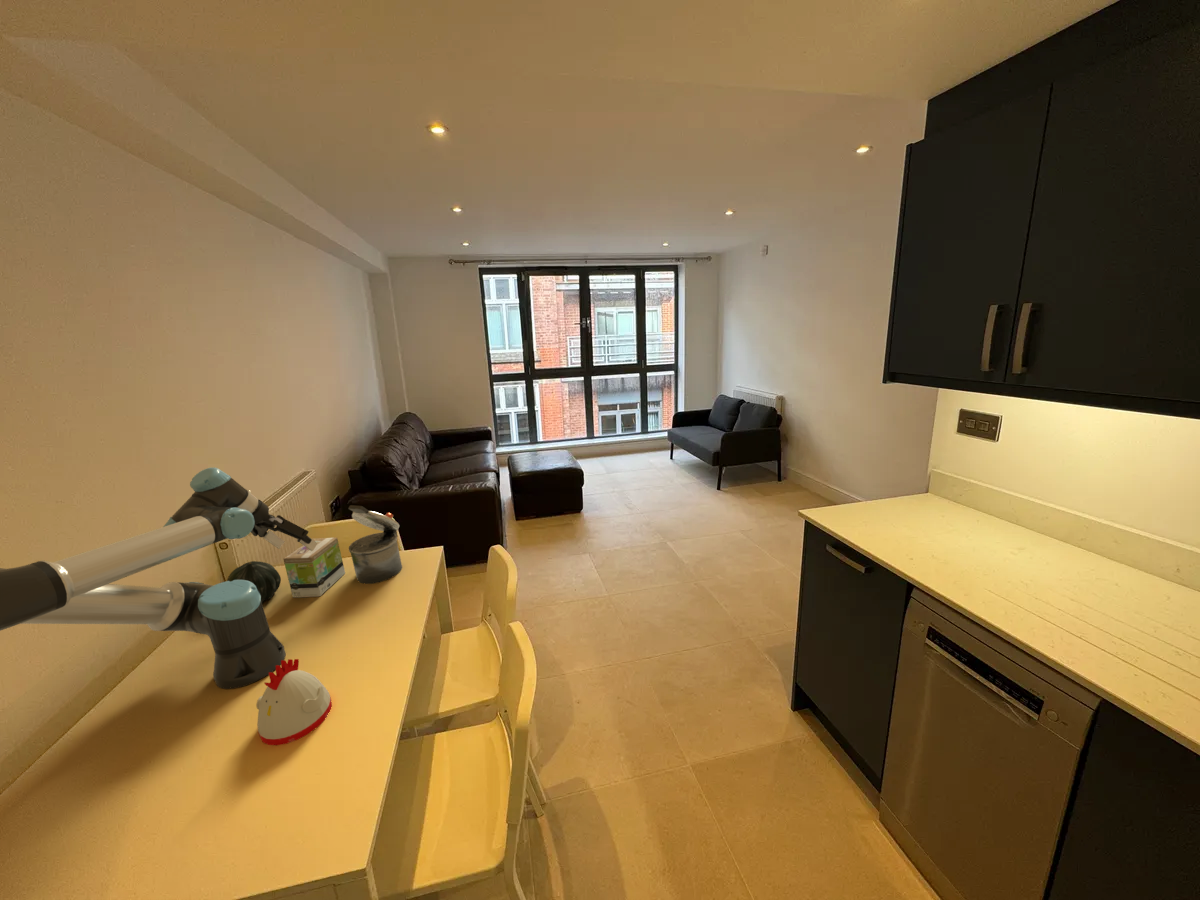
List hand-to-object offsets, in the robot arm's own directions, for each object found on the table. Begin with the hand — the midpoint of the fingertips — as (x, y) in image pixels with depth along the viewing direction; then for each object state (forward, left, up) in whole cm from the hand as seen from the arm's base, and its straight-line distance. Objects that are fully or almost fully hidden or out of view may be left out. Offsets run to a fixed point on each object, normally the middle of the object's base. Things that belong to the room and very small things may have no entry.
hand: (297, 546), depth 148 cm
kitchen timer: (-41, -40, -19) cm, 60 cm away
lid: (+20, -12, +1) cm, 23 cm away
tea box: (+7, +3, -19) cm, 20 cm away
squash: (-4, +18, -19) cm, 27 cm away
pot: (+18, -12, -19) cm, 29 cm away
